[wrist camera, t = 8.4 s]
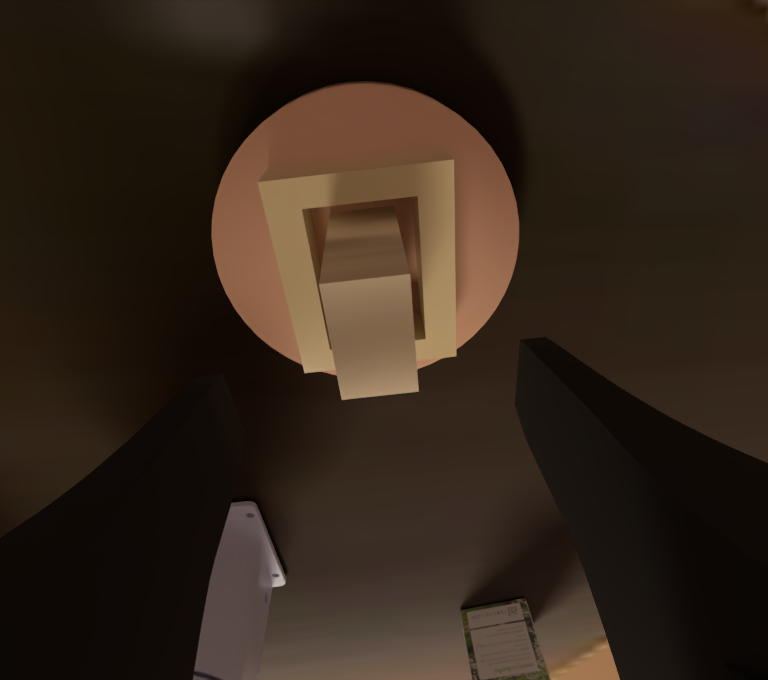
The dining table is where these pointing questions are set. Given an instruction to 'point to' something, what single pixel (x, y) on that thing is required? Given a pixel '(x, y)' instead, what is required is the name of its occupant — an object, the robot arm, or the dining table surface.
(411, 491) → the dining table surface
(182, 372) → the dining table surface
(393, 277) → the tall wooden block
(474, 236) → the tan rounded piece
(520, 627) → the syrup box
